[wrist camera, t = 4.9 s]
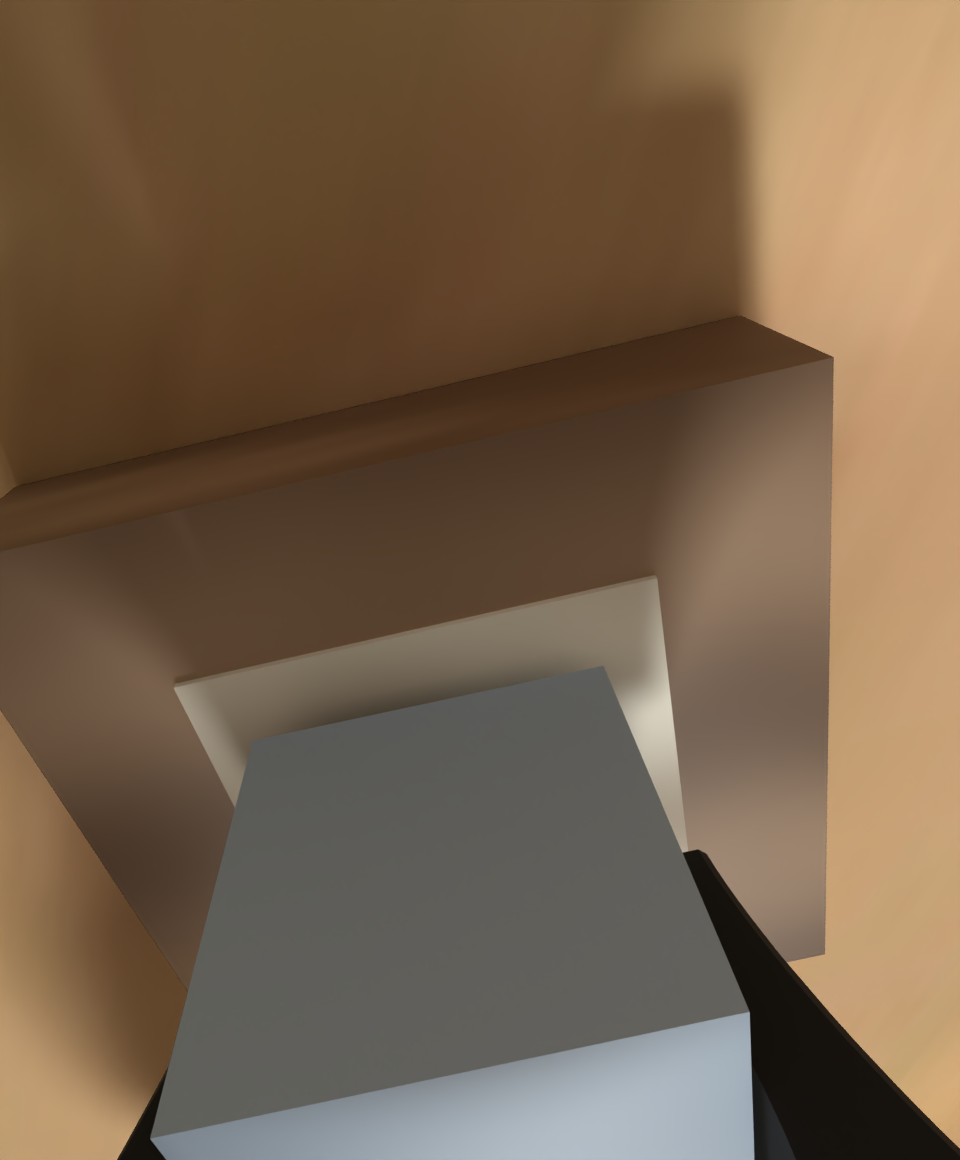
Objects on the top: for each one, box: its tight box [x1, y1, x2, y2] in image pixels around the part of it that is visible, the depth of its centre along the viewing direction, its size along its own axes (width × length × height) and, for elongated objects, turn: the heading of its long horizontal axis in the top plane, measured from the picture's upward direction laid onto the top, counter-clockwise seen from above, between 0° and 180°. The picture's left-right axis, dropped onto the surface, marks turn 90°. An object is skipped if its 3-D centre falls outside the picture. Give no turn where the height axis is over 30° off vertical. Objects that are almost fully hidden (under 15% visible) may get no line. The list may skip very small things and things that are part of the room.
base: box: [0, 316, 834, 992], centre depth 14 cm, size 12×12×3 cm
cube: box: [150, 666, 754, 1160], centre depth 10 cm, size 5×5×5 cm
